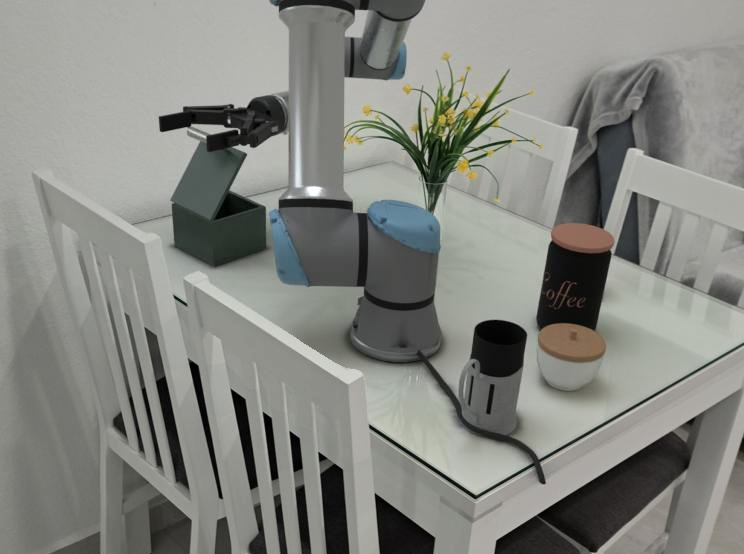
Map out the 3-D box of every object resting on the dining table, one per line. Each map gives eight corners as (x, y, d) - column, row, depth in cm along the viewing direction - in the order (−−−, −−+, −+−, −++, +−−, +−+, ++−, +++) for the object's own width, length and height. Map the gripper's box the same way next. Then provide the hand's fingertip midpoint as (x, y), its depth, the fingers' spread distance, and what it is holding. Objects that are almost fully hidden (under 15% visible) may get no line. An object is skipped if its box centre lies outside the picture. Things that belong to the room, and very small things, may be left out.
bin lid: (205, 137, 173) (180, 119, 167) (247, 154, 167) (222, 136, 161) (172, 202, 173) (145, 186, 167) (213, 221, 167) (186, 206, 161)
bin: (227, 229, 187) (225, 188, 182) (266, 248, 180) (266, 206, 176) (174, 246, 178) (171, 203, 173) (213, 266, 172) (211, 223, 167)
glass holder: (527, 418, 137) (542, 331, 129) (478, 462, 127) (492, 370, 119) (477, 396, 141) (489, 311, 133) (427, 437, 131) (436, 348, 123)
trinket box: (595, 367, 151) (605, 318, 146) (599, 402, 142) (611, 351, 137) (531, 360, 152) (539, 310, 147) (531, 394, 143) (540, 342, 138)
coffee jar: (522, 324, 162) (538, 230, 152) (561, 309, 168) (578, 218, 159) (568, 350, 156) (587, 253, 146) (607, 332, 162) (627, 239, 152)
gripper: (318, 151, 171) (229, 174, 157) (232, 118, 184) (143, 136, 170) (319, 111, 167) (228, 130, 153) (231, 80, 180) (140, 96, 166)
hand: (183, 134), depth 161 cm, fingers open, 13 cm apart
